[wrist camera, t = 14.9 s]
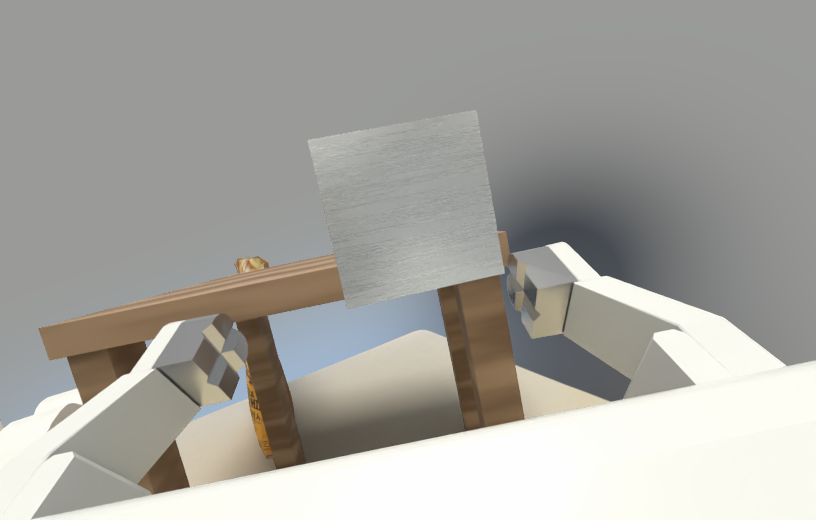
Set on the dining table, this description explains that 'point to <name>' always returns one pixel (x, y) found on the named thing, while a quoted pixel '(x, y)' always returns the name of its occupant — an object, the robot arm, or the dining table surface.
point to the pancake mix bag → (242, 267)
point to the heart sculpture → (37, 424)
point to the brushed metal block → (408, 207)
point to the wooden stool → (249, 306)
